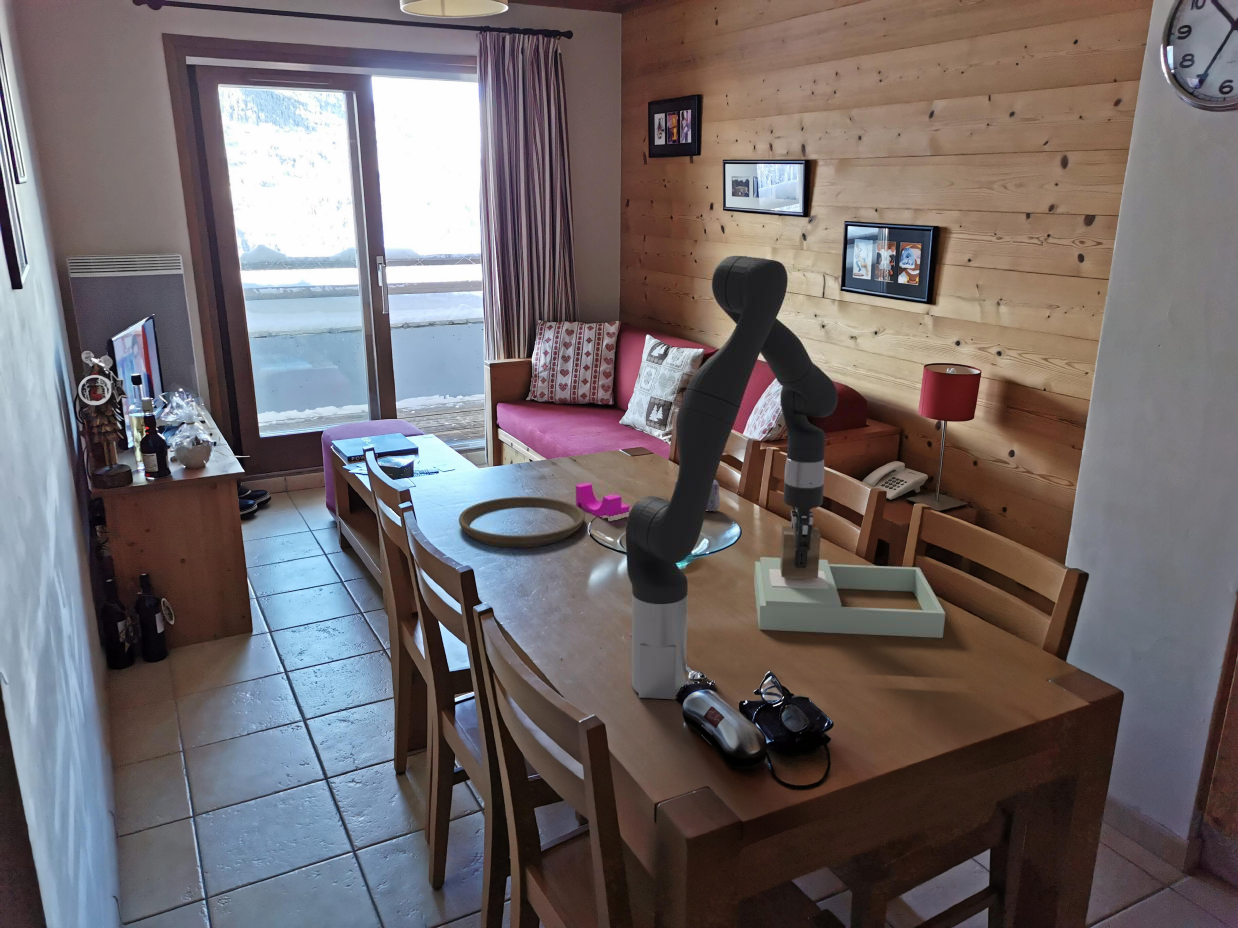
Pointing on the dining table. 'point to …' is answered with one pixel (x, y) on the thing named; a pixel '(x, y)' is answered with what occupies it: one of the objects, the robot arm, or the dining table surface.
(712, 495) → the stone block
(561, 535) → the brown flat ring
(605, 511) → the toy block
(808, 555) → the wood block
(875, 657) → the dining table surface
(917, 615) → the box
